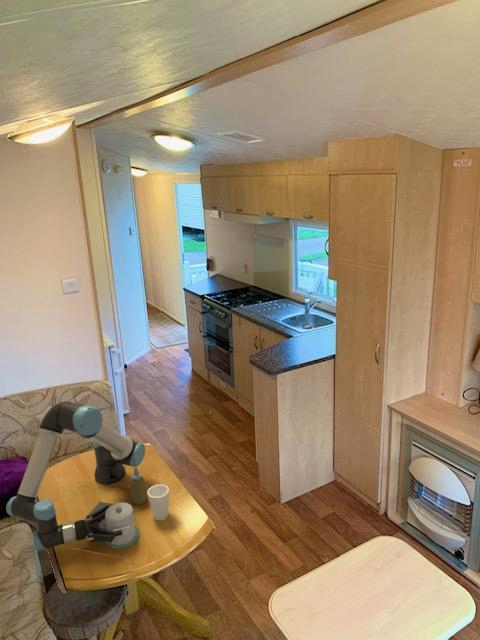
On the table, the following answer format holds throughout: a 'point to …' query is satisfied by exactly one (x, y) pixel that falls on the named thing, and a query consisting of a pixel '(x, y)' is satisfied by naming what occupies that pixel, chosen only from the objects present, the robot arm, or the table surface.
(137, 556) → the table surface
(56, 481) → the table surface
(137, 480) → the squeeze bottle
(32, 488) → the robot arm
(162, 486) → the foam cup
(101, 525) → the mat
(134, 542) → the green and pink dish
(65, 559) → the table surface
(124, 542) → the lidded canister
